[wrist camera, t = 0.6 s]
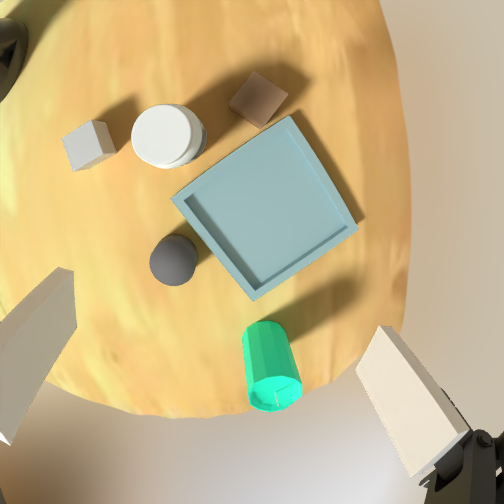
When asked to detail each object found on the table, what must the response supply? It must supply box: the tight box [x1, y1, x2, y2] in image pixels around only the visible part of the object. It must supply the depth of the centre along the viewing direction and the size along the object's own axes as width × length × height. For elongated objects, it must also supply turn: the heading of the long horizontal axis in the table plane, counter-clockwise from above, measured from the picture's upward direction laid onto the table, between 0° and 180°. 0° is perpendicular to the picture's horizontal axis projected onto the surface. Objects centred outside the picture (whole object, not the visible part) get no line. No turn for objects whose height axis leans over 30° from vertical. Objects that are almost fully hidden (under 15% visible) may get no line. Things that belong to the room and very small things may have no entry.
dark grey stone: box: [150, 234, 198, 286], centre depth 31 cm, size 5×5×3 cm
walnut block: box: [229, 71, 288, 129], centre depth 26 cm, size 4×4×4 cm
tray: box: [171, 115, 359, 301], centre depth 31 cm, size 15×15×2 cm
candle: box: [242, 320, 302, 412], centre depth 32 cm, size 6×6×12 cm
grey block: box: [62, 120, 117, 172], centre depth 25 cm, size 4×4×4 cm
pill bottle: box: [131, 104, 207, 169], centre depth 23 cm, size 6×6×10 cm
